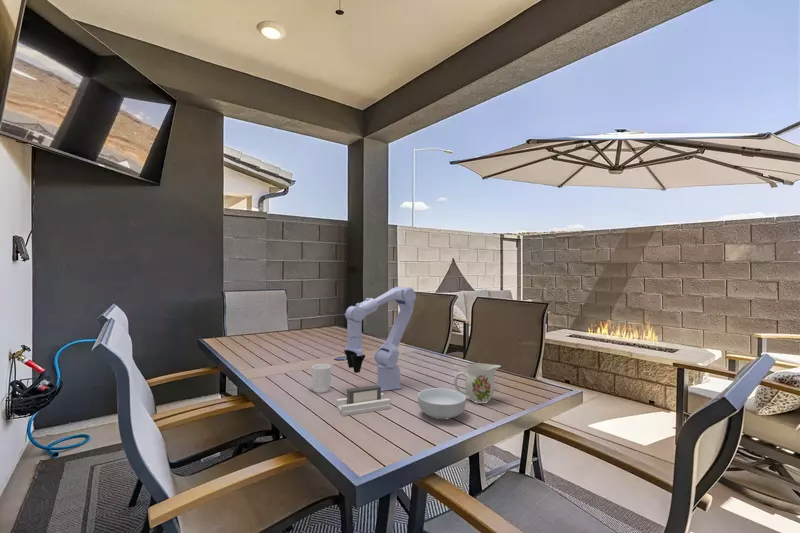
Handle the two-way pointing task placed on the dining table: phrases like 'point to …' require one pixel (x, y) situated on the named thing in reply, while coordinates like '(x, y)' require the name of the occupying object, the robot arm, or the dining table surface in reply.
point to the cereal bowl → (441, 402)
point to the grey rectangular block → (363, 394)
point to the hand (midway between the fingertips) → (354, 369)
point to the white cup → (321, 377)
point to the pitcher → (478, 381)
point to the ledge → (362, 406)
